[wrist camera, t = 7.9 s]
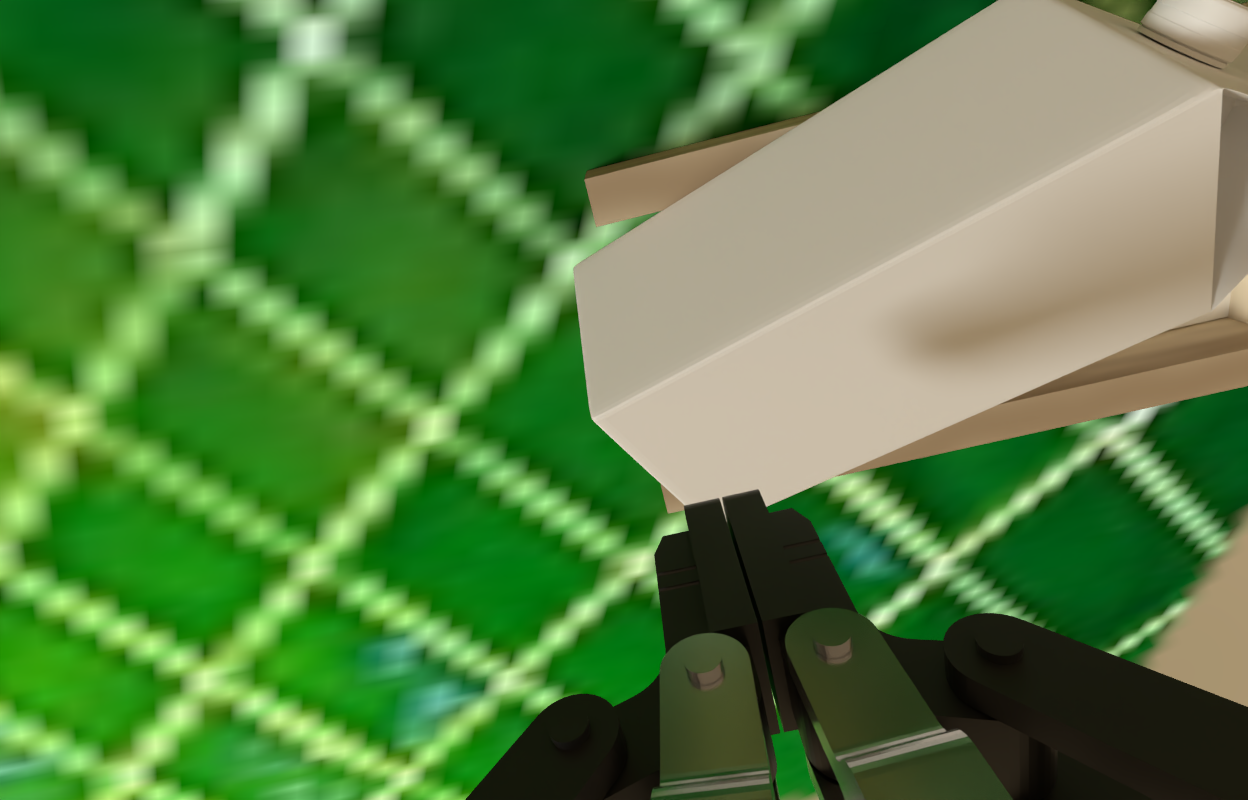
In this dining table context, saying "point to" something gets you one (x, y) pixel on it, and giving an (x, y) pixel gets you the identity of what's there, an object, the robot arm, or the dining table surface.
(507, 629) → the dining table surface
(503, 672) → the dining table surface
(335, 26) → the dining table surface
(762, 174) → the milk carton
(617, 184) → the u rest
